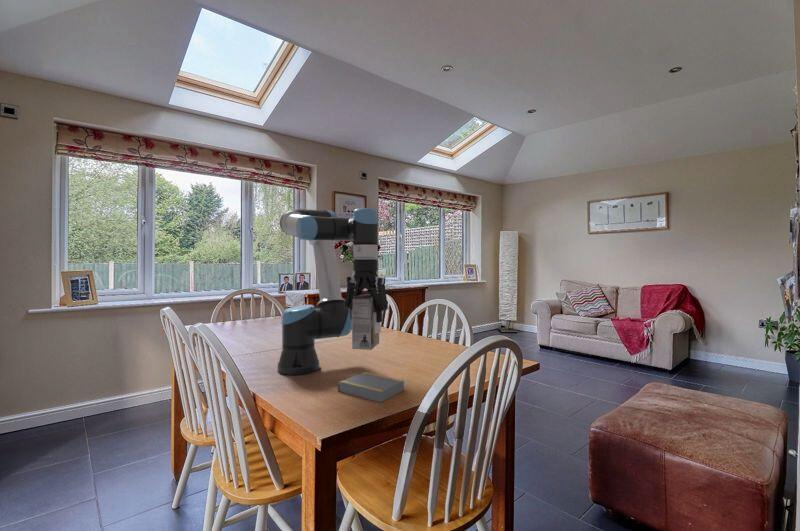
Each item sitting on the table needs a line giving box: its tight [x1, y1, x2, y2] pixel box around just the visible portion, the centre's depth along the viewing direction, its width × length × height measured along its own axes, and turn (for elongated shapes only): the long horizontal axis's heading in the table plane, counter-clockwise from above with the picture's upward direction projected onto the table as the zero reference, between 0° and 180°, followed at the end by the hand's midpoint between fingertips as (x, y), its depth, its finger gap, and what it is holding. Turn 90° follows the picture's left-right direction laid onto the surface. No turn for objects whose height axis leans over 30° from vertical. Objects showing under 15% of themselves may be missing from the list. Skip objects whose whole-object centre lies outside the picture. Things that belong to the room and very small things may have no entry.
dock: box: [337, 371, 405, 403], centre depth 120 cm, size 17×12×3 cm
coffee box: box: [351, 293, 380, 351], centre depth 120 cm, size 9×6×16 cm
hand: (365, 331), depth 120 cm, fingers closed on coffee box, 8 cm apart
